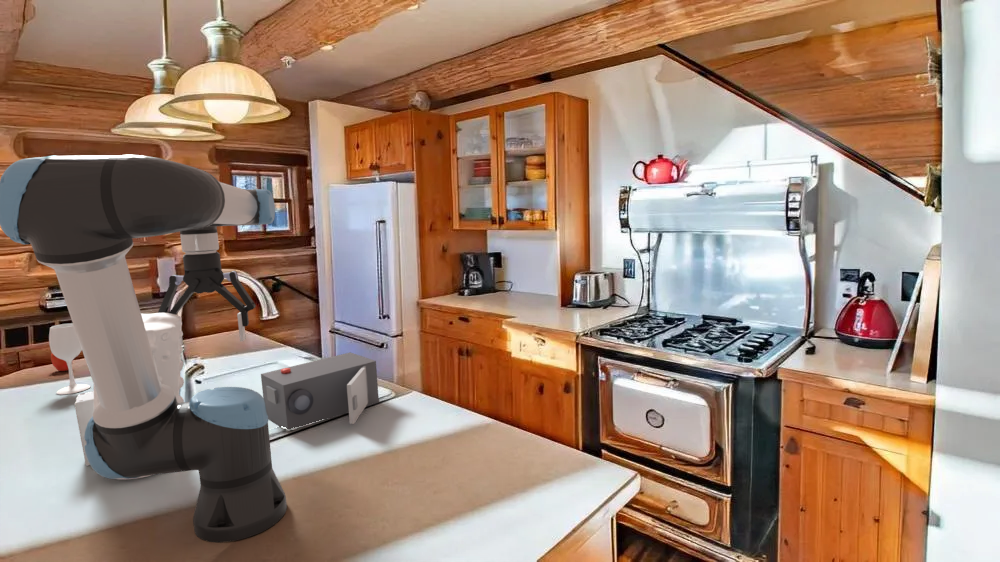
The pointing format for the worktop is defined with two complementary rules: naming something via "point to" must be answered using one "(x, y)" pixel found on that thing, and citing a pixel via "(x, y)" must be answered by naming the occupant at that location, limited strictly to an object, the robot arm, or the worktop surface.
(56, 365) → the apple
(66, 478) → the worktop surface
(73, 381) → the wineglass
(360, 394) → the side door
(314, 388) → the camera body
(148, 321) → the vase
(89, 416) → the skincare box
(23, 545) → the worktop surface
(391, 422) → the worktop surface
